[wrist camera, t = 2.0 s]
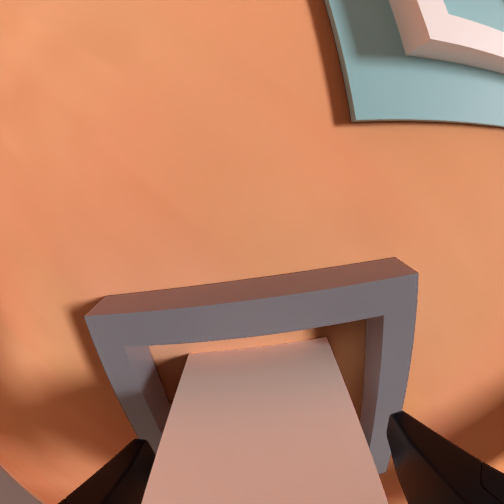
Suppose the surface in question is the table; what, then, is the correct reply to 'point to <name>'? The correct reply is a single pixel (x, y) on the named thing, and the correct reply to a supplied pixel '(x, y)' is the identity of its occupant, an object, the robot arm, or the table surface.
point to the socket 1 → (263, 333)
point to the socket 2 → (421, 59)
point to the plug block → (264, 432)
